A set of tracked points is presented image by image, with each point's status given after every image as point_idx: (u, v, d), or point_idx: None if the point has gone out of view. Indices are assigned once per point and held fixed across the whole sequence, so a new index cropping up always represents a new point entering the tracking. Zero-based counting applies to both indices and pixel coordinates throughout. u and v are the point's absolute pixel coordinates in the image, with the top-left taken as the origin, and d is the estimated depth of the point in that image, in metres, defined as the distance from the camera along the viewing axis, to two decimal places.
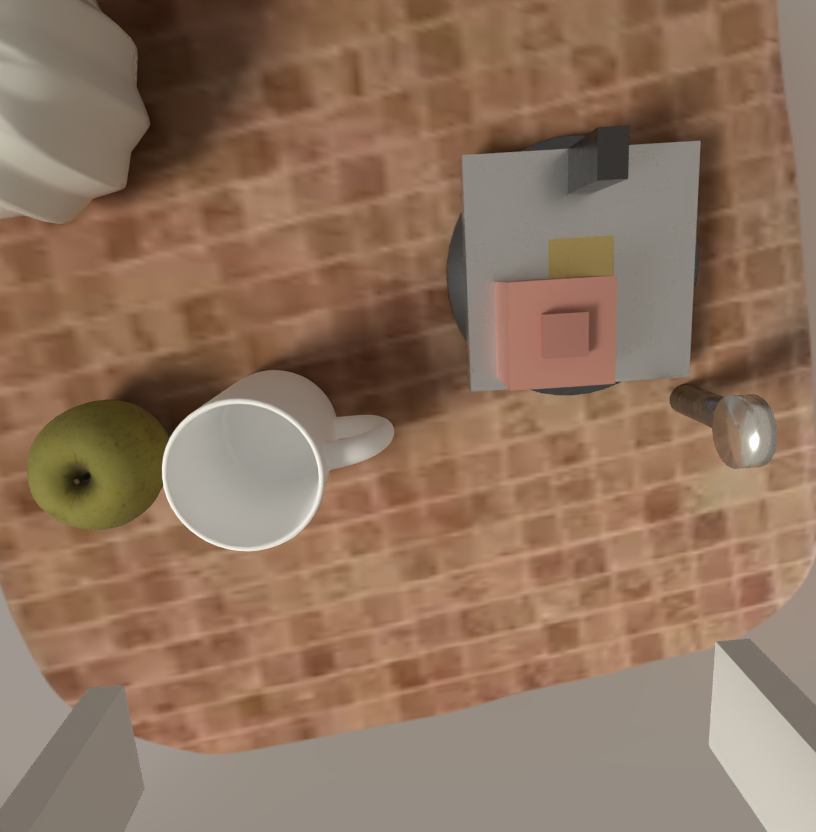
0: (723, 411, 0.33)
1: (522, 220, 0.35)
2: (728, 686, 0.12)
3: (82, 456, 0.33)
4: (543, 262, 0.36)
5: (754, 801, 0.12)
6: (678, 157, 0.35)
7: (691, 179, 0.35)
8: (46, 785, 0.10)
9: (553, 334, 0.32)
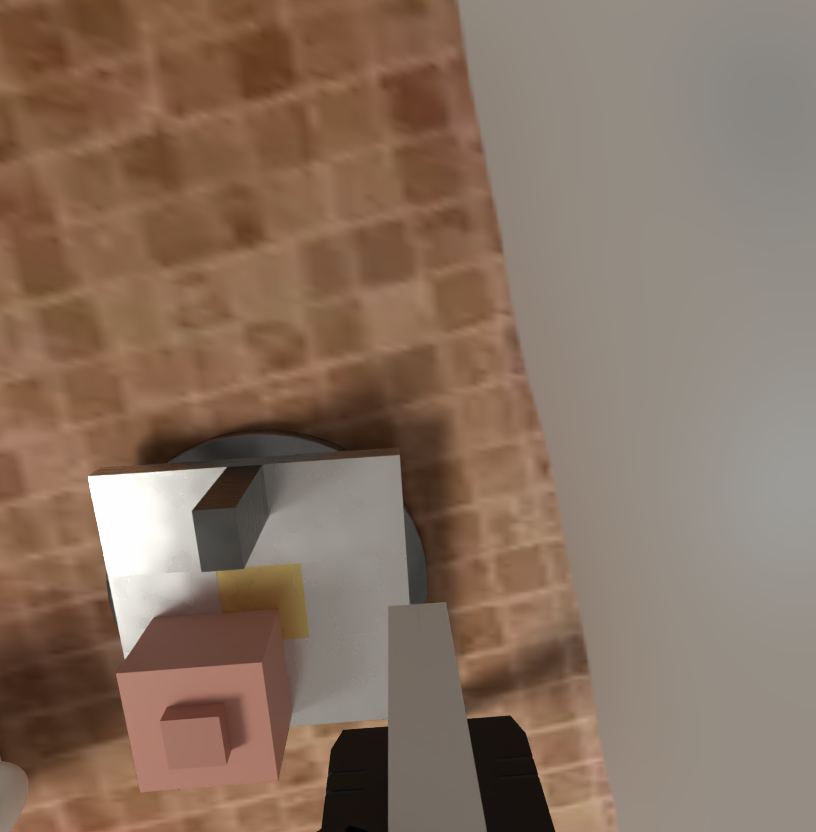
0: None
1: (178, 548, 0.27)
2: None
3: None
4: (213, 595, 0.28)
5: None
6: (373, 474, 0.27)
7: (393, 498, 0.27)
8: (412, 669, 0.13)
9: (175, 742, 0.24)
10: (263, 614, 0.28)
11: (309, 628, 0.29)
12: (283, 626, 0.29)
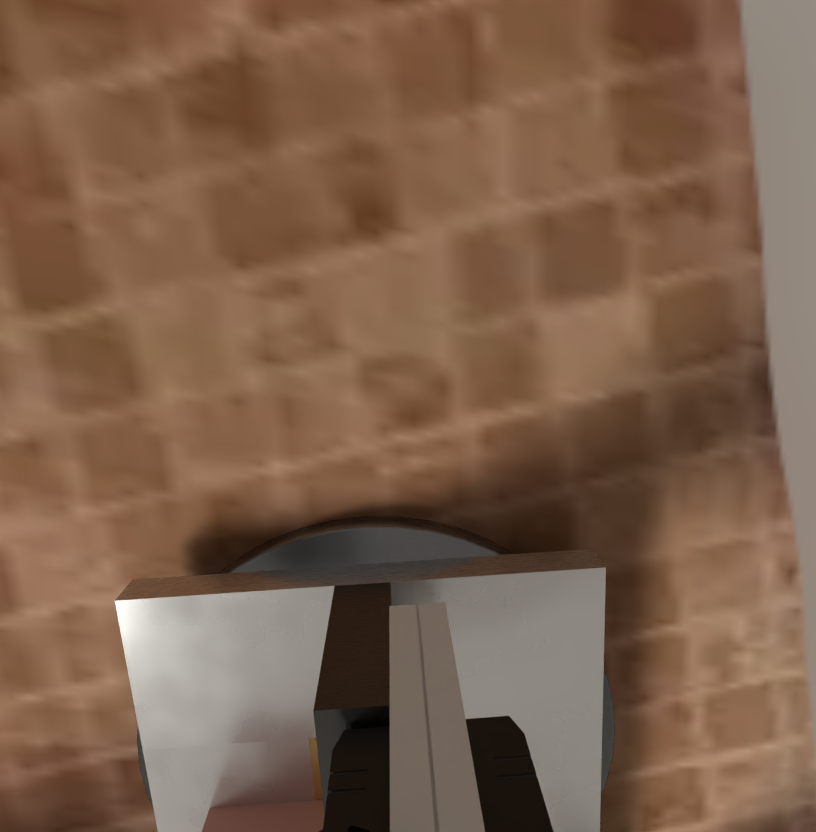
0: None
1: (253, 708, 0.18)
2: None
3: None
4: (302, 775, 0.18)
5: None
6: (561, 596, 0.17)
7: (590, 633, 0.17)
8: (414, 669, 0.13)
9: None
10: None
11: None
12: None
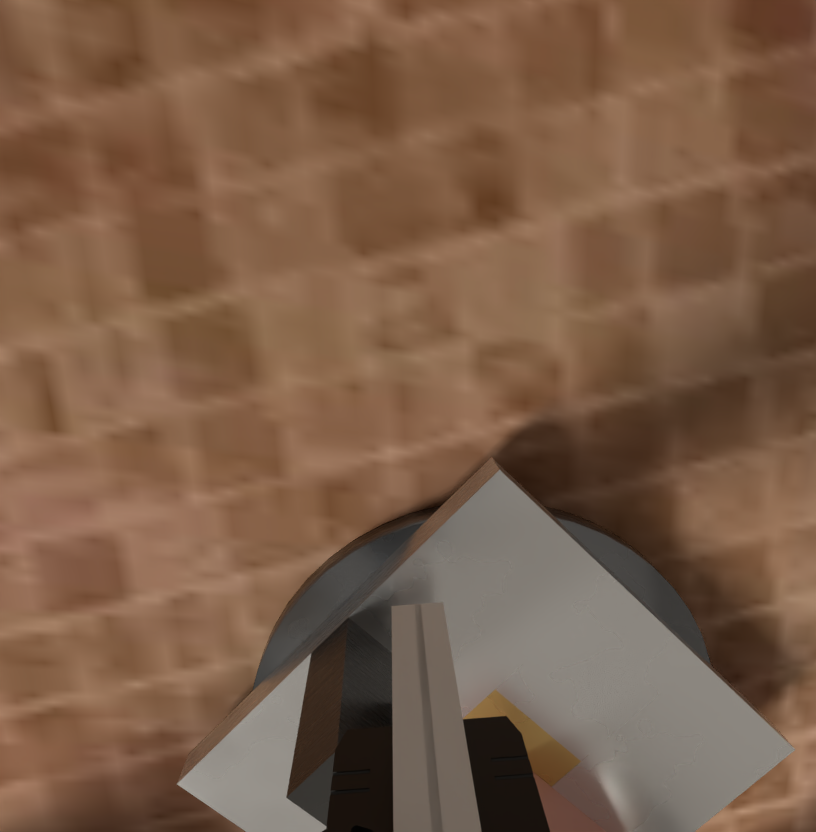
0: None
1: None
2: None
3: None
4: None
5: None
6: (488, 520, 0.17)
7: (539, 527, 0.17)
8: (416, 668, 0.13)
9: None
10: None
11: (572, 751, 0.19)
12: (539, 772, 0.19)
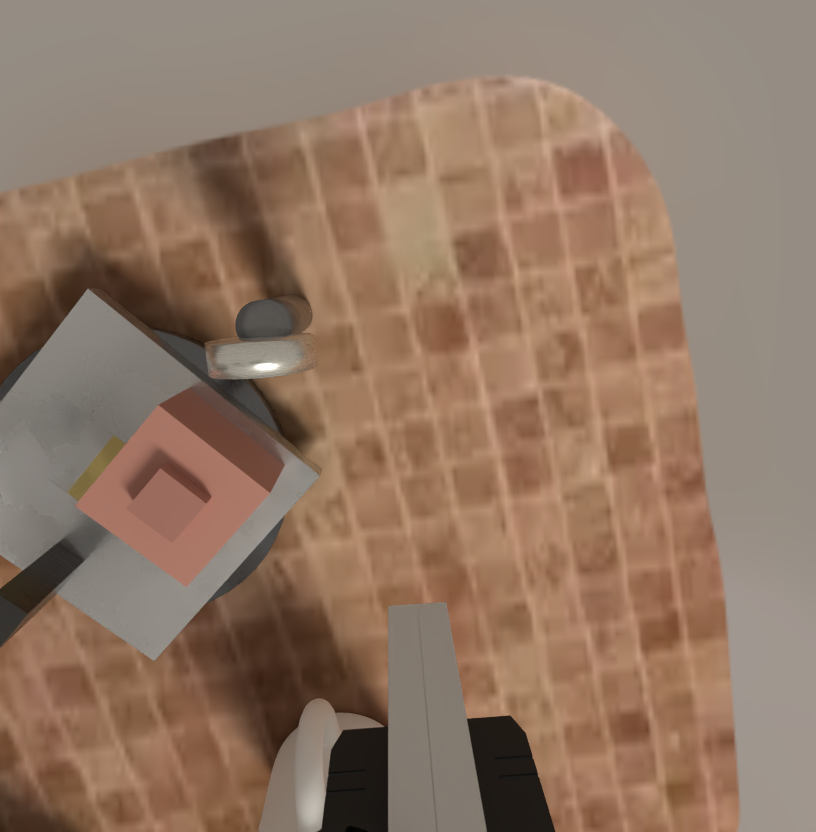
0: None
1: (143, 574, 0.31)
2: None
3: None
4: None
5: None
6: None
7: None
8: (413, 669, 0.13)
9: (178, 518, 0.25)
10: None
11: (106, 441, 0.29)
12: None
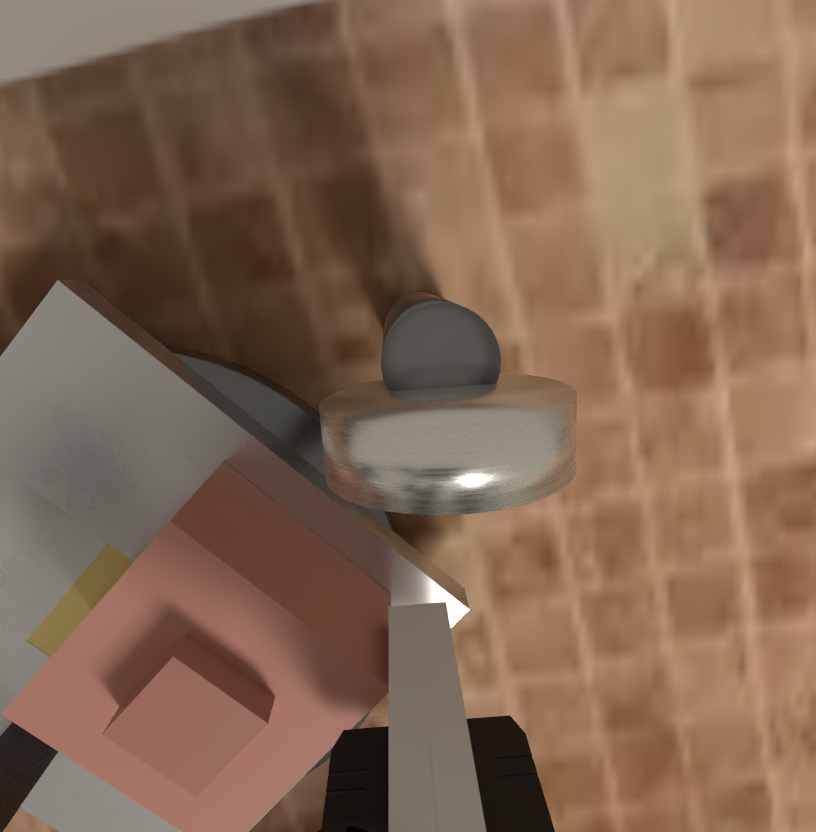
0: None
1: None
2: None
3: None
4: None
5: None
6: None
7: None
8: (413, 669, 0.13)
9: (210, 751, 0.12)
10: None
11: (95, 554, 0.16)
12: None
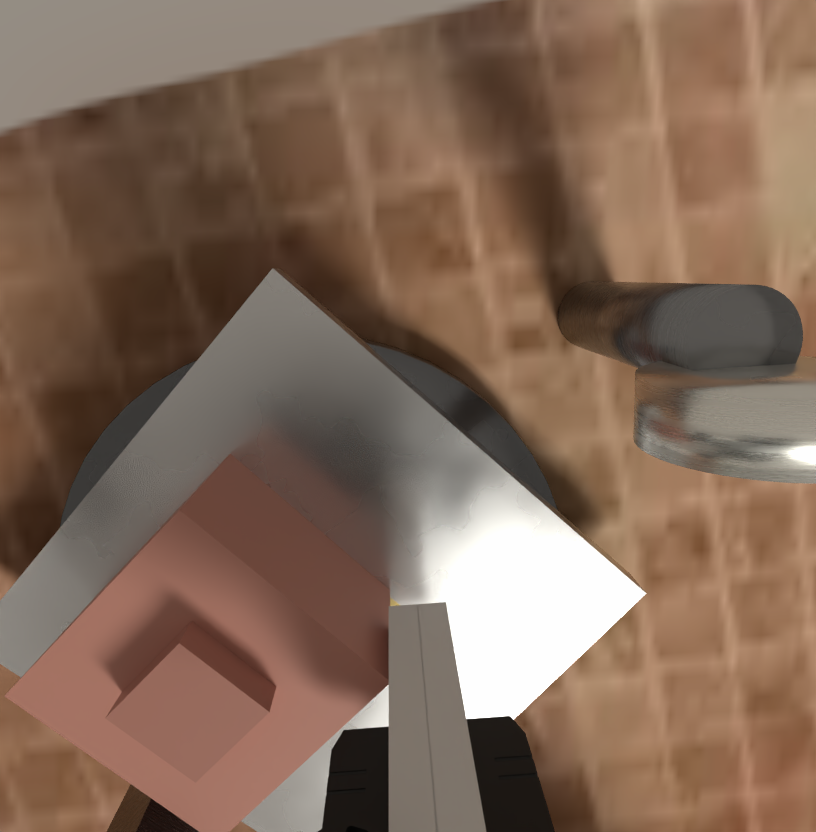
0: None
1: None
2: None
3: None
4: None
5: None
6: (21, 647, 0.17)
7: (20, 600, 0.17)
8: (413, 669, 0.13)
9: (211, 738, 0.12)
10: None
11: None
12: None
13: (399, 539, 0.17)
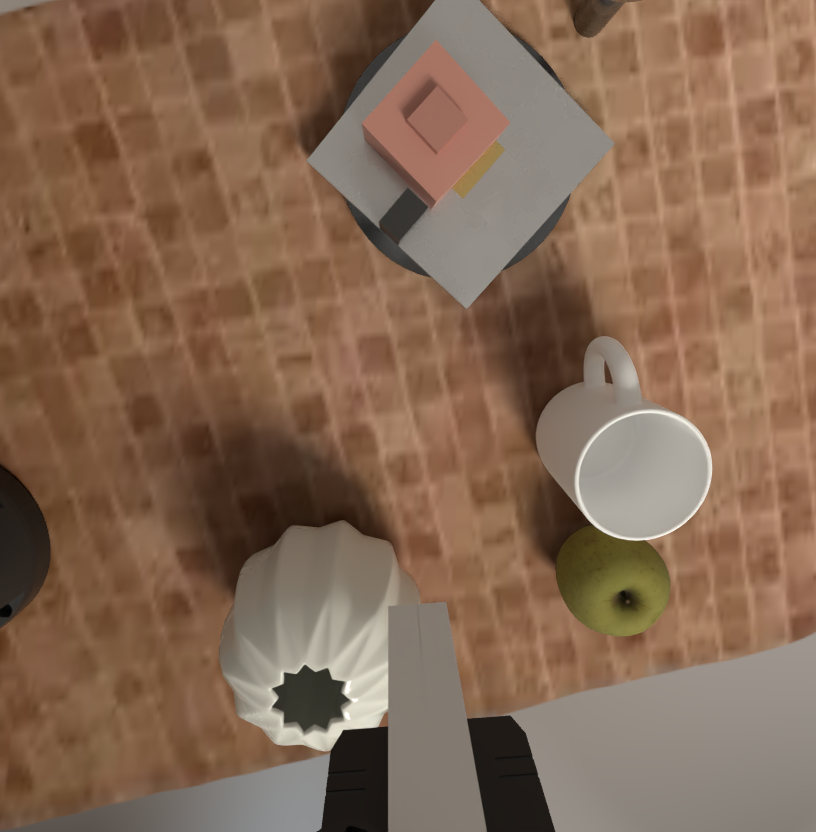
0: None
1: (467, 229, 0.39)
2: None
3: (607, 595, 0.40)
4: (480, 186, 0.38)
5: None
6: (330, 164, 0.38)
7: (332, 139, 0.37)
8: (413, 669, 0.13)
9: (445, 130, 0.33)
10: (371, 145, 0.37)
11: None
12: None
13: (503, 111, 0.37)
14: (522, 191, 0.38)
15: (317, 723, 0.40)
